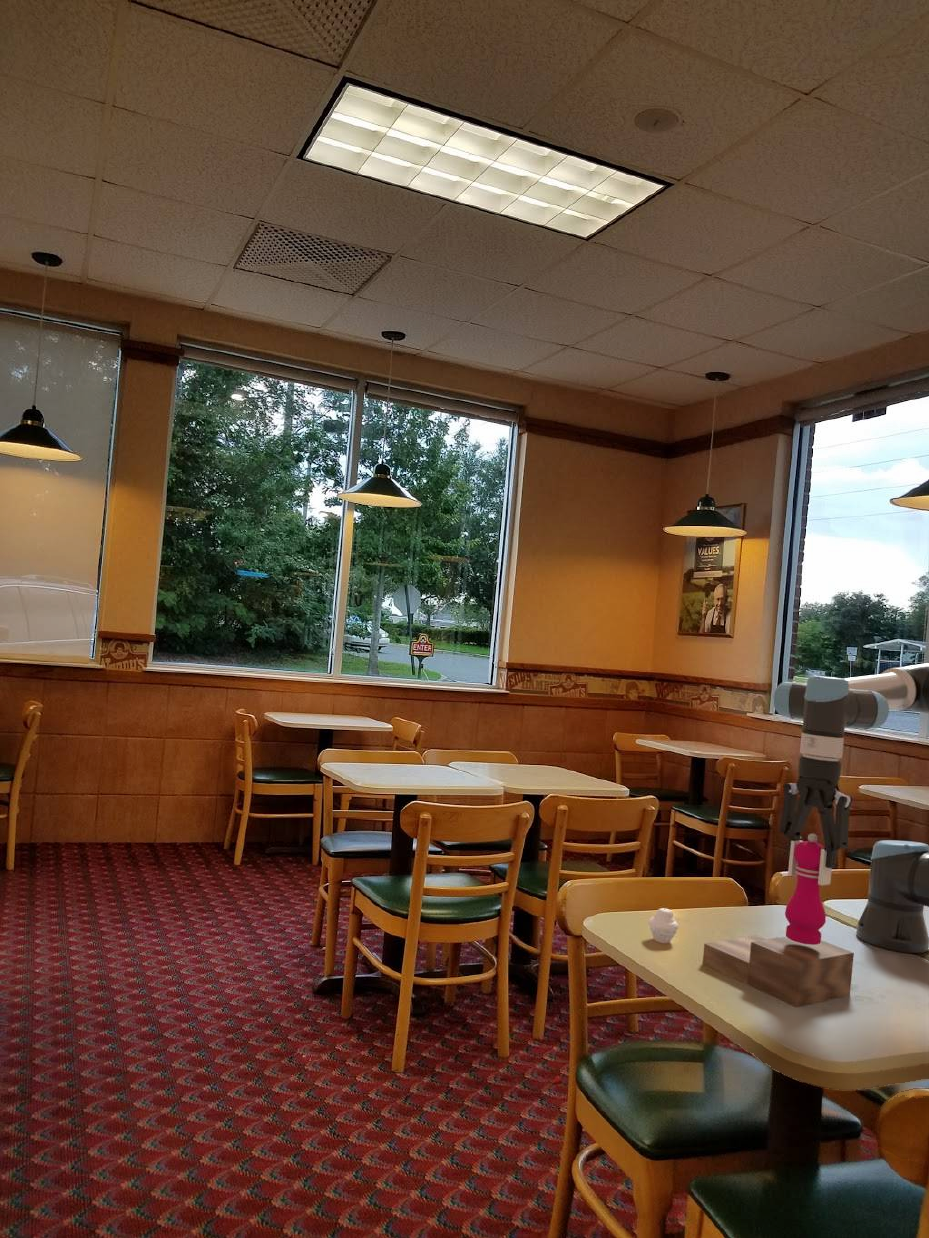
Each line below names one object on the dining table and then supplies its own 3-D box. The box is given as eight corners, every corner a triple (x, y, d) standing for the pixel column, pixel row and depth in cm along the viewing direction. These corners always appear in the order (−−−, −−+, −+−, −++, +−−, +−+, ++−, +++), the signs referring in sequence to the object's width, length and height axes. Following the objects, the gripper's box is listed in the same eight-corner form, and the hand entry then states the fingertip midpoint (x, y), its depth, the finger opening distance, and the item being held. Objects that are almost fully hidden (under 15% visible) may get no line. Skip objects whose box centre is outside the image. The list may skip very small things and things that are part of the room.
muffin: (682, 944, 193) (686, 911, 194) (661, 947, 190) (664, 913, 190) (662, 934, 199) (665, 902, 199) (641, 936, 196) (644, 904, 196)
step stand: (754, 954, 192) (758, 916, 192) (849, 995, 173) (853, 952, 173) (702, 963, 183) (706, 923, 183) (796, 1007, 164) (801, 962, 164)
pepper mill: (826, 948, 169) (837, 840, 169) (785, 941, 171) (796, 834, 171) (819, 936, 176) (829, 832, 177) (780, 930, 178) (790, 827, 178)
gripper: (766, 749, 180) (755, 867, 179) (853, 766, 164) (841, 895, 164) (790, 749, 184) (779, 864, 184) (877, 766, 168) (866, 892, 168)
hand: (808, 879), depth 174 cm, fingers closed on pepper mill, 6 cm apart
